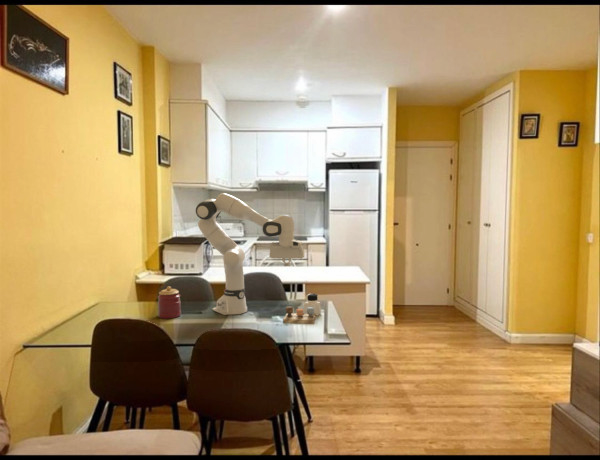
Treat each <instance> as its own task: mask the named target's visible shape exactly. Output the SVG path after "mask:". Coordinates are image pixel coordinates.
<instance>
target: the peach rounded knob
mask: <svg viewBox="0 0 600 460" xmlns="http://www.w3.org/2000/svg"><path fill="white" fill-rule="evenodd" d="M295 311H296V315H298V317H302V315H304V309H303V308H296V310H295Z"/></svg>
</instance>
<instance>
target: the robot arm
mask: <svg viewBox="0 0 600 460" xmlns="http://www.w3.org/2000/svg"><path fill="white" fill-rule="evenodd" d="M221 212H222V213H224V214H226V215H228V216H230V217H232V218H233V219H237V220H241V221H250V222H252V223H254V224H256V225H258V226H260V227H262V233H263V234H264V236H266V237H269V238H273V237H277V236H278V242H271V243H269V246H268V247H269V257H270V259H281V260H282V262H283V266H284V267H290V265H291V264H290V263H291V261H292V259H297V260H298V259H300V260H301V259H303V258H304V257H305V250H304V247H303V245H302V244H303V242H302V241H300V240H298V239H295V235H294V231H295V226H294V225H295V223H294V218H293V216H291V215H290V214H289V215H288V214H279V216H276V217H275V218H274V219H272V218H268V217H266V216H265V215H263V214H260V213H259V212H257V211H255V210H254V209H253V208H252V207H250V206H249V205H248V204H247V203H245V202H244V201H242V199H241V200H240V199H239V198H237V197H236V196H233V195H231V194H228V193H225V192H222V193H220V194H218V195H217V197H216V198H215V197H211V198H207V199H205V200H203V201H201V202H199V203H198V204H197V206H196V208H195V214H196V216H197V217H198V218H199V221H198V223H197V225H198V229H199V230H200V232H201V233H202V235H203V236H204V237H205V239H206V240H207V241H208V243H210V245H211V246H212V247H213V248H214V249H215V250H217V252H219V253H220V254H221V255H222V256H223V258H222V260H223V266H224V267H223V269H224V274H225V288H224V289H223V292H224V293H223V295H222V296H221V297H219V298H218V299H217V301H216V306H215V307H213V308H212V311H214V312H216V313H218V314H221V315H223V316H224V315H225V316H228V315H241V314H244V313H246V312H248V306H247V299H246V295H245V294H246V289H245V288H246V287H245V274H244V268H243V267H244V266H243V262H244V261H245V258H246V257H245V256H246V255H245V251H244V250H243V249H242V248H241V247H240V245H239V244H237V243H236V242H235V240H233V239H232V237H230V236H229V235H228V234H227V232H226V231H225V230H224V229H223V228H222V227H221V225H220V224H219V223H218V222H217V219H218V217H219V216H220V214H221ZM286 259H287V260H288V262H286V261H285V260H286Z"/></svg>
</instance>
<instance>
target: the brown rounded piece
mask: <svg viewBox="0 0 600 460" xmlns="http://www.w3.org/2000/svg"><path fill="white" fill-rule="evenodd" d="M285 313H286V314H287V313H288V316H289V317H290V316H291V313H294V306H290V305H289V306H286V307H285Z"/></svg>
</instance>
